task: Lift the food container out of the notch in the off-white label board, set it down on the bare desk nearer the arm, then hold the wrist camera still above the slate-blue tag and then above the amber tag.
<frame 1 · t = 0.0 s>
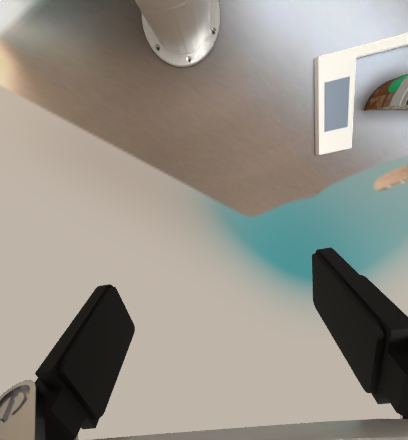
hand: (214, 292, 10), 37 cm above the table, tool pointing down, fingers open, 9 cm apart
food container: (394, 91, 38), on the table
label board: (395, 91, 37), on the table
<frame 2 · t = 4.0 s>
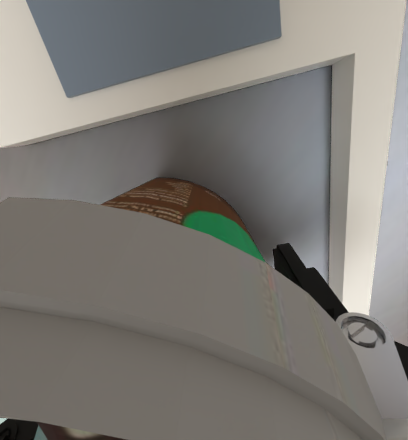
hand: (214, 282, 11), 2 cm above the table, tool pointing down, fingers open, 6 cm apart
food container: (217, 251, 13), on the table, touching gripper
label board: (216, 252, 13), on the table
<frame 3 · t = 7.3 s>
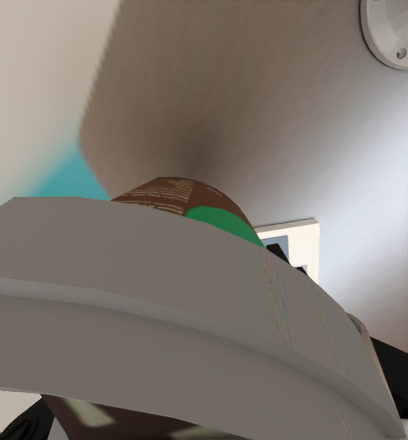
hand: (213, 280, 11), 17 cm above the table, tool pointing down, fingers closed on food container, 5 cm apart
food container: (222, 247, 13), point 15 cm above the table, touching gripper
label board: (261, 306, 33), on the table
when the fingers open (4 cm above the table, at t = 10.6 s): food container drops 1 cm, on the table.
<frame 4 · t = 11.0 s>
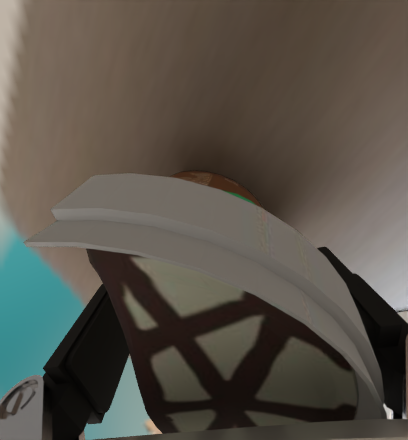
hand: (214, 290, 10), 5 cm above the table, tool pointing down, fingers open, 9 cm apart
food container: (240, 235, 14), on the table, touching gripper
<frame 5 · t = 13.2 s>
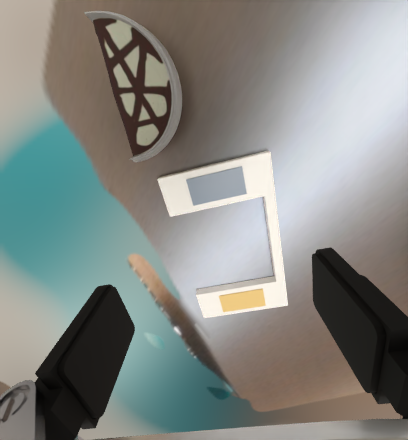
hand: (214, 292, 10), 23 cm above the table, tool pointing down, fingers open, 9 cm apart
food container: (166, 101, 27), on the table
label board: (230, 245, 36), on the table
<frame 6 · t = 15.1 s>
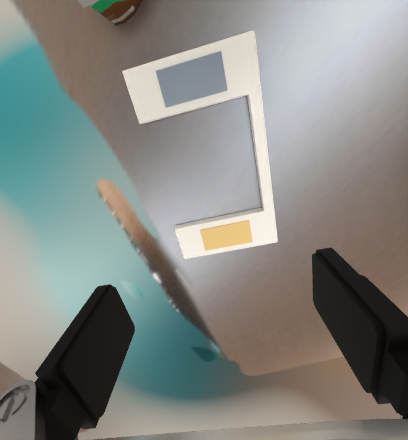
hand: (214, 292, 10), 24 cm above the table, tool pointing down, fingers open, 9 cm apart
label board: (211, 167, 31), on the table
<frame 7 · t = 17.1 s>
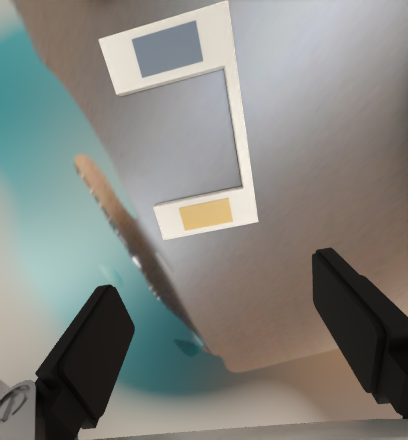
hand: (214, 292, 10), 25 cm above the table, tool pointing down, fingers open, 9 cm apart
label board: (190, 143, 31), on the table
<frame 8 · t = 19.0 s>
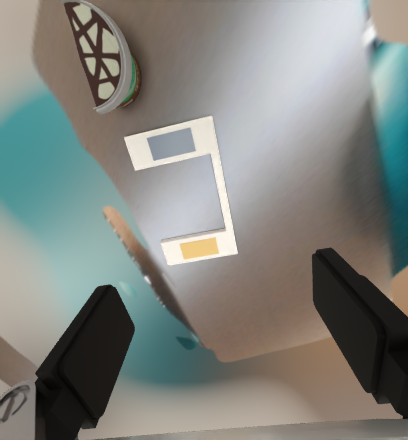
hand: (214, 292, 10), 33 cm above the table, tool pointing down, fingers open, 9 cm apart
food container: (129, 73, 35), on the table
label board: (187, 199, 43), on the table
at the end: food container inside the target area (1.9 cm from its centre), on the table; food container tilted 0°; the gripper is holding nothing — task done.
